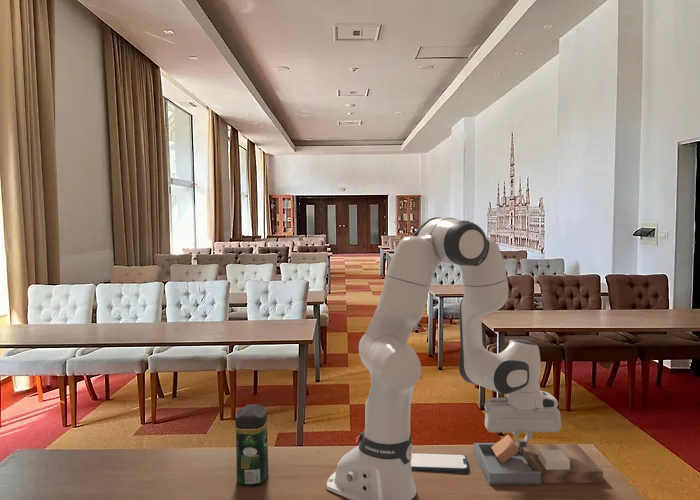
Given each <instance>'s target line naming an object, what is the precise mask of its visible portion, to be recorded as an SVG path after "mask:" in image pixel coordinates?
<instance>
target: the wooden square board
mask: <svg viewBox="0 0 700 500" xmlns="http://www.w3.org/2000/svg"><path fill="white" fill-rule="evenodd" d="M539 450H562V451H563V453H564V454H565V455H566V456H567V457H568V458H569V460H570V470H546V469H545V467H544V466H543V464H542V463H541V462H540V460H539V459H538V455H539ZM520 453H521V454H522V456H523V457H524V459H525V460H526V462H527V463H528V464H529V466H530V467H531V469H532V470H533V471H540V472H541V484H548V483H549V484H556V483H557V484H565V483H566V484H603V483H604V470H602V469H601V467H600V466H599V465H598V464H597V463H595V461H594V460H593V459H592V458H591V457H590V456H589V455H588V454H587V453H586V452H585V450H583V449H582V448H581V447H580V446H579V444H577V443H576V444H569V443H568V444H567V443H566V444H563V443H562V444H547V443H545V444H544V443H543V444H537V443H536V444H531V443H530V444H529V443H528V447H521V449H520Z"/></svg>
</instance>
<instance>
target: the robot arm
mask: <svg viewBox="0 0 700 500" xmlns="http://www.w3.org/2000/svg"><path fill="white" fill-rule="evenodd" d="M389 261H390V262H389V265H388V268H387V271H386V275H385V278H384V282H383V286H382V289H381V293H380V297H379V301H378V304H377V307H376V309H375V312H374V313H373V317H372V319H371V321H370V322H369V325H368V326H367V329H366V331H365V333H364V334H363V335H362V336H361V338H360V340H359V343H358V355H359V358H360V361H361V363H362V365H363V366H364V367H365V368H366V369H367V371H368V372H369V375H370V388H369V392H368V396H367V399H366V400H365V404H364V406H365V407H364V410H365V411H364V412H365V413H364V417H365V419H364V420H365V421H364V422H365V424H364V425H365V426H364V429H363V431H362V432H359V434H358V436H357V437H356V438H355V440H356V441H355V444H357V443H358V444H359V445H357V446H356V447H354V448H352V449H350V450H349V451H348V452H346V453H345V454H344V455H342V457H341V458H340V459H339V461H338V463H337V466H336V470H335V471H334V472H333V473H331V475H330V476H329V477H328V479H327V481H326V490H327V491H330V492H332V493H335V494H336V495H339V496H341V497H343V498H346V499H348V500H413V499H414V498H415V497H416V495H417V487H416V484H415V480H414V475H413V470H412V466H411V458H412V453H413V435H412V434H411V406H412V405H411V404H412V399H413V395H414V394H413V393H414V390H415V385H416V384H417V383H418V381H419V380H420V377H421V375H422V363H421V360H420V358H419V356H418V354H417V352H416V351H415V349H414V348H413V347H412V346H410V344H408V341H409V338H410V335H411V334H412V332H413V330H414V328H415V326H416V325H417V324H418V323H419V322H420V321H421V320H422V318H423V315H424V311H425V309H426V308H425V307H426V304H427V301H428V296H429V293H430V290H431V285H432V280H433V277H434V272H435V270H436V269H437V267H438V266H439V265H440V264H441V262H443V263H447V264H451V265H452V264H453V265H457V266H458V265H459V267H460V271H461V277H462V284H463V297H462V298H461V301H460V303H459V311H458V312H459V338H460V339H459V341H460V342H459V343H460V350H459V351H460V352H459V357H458V358H459V359H458V371H459V374H460V376H461V378H462V379H463V381H465V382H466V383H469V384H472V385H476V386H479V387H481V388H482V387H483V388H485V389H487V390H489V391H490V390H491V391H492V392H496V393H498V394H503V395H505V397H489V399H487V400H486V401H485V402H484V411H485V415H484V426H485V429H486V430H487V432H489V433H511V434H512V435H513V437H514V438H515V443H516V446H517V447H528V444H529V442H530V440H531V439H532V437H533V433H558V432H560V430H561V428H562V418H561V417H562V416H561V412H560V409H558V406H559V402H558V400H557V399H556V398H555V396H554V395H552V394H551V393H549V392H547V391H544V390H541V385H540V376H541V354H540V349H539V346H538V345H537V343H536V342H533V341H530V340H526V339H522V338H511V339H510V340H509V342H508V345H507V346H506V348H504V350H502V351H501V352H498V353H495V352H493V351H492V352H491V351H490V350H488V349H486V347H485V346H484V344H483V324H482V323H483V322H482V321H483V318H484V316H487V315H490V314H493V313H494V312H497V311H498V310H501V308H502V307H504V305H505V304H506V303H507V300H508V298H509V283H508V276H507V271H506V268H505V262H504V259H503V256H502V252H501V249H500V247H499V244H498V243H497V241H495V240H494V239H492V238H489V237H487V235H486V233H485V232H484V230H483V229H482V228H481V227H480V226H479V225H478V224H476V223H474V222H472V221H469V220H461V219H459V218H458V219H457V218H455V217H454V218H453V217H439V216H438V217H432V218H428V219H426V220H425V221H423V222H422V223H421V224H420V225H419V226H418V228H417V230H416V232H414V233H413V235H409V236H406V237H403V238H402V239H401V240H399V242H398V243H397V246H396V247H395V250H394V252H393V254H392V257H391V260H389ZM520 433H525V436H524V438H519V436H520Z"/></svg>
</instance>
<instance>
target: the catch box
mask: <svg viewBox="0 0 700 500" xmlns="http://www.w3.org/2000/svg"><path fill="white" fill-rule="evenodd" d="M496 443H497V442H473V454H474V456H475V458H476V460H477V462H478V464H479V467H480V469H481V470H482V472H483V474H484V477H485V479H486V482H487V483H488V485H489V486H490V485H491V486H497V485H498V486H519V485H520V486H526V485H527V486H531V485H532V486H535V485H536V486H541V485H542V483H541V472H540V471H533V470H532V469H531V467H530V466H529V464H528V463H527V462H526V460H525V459H524V457H523V456H522V454H521V447H518V449H519V450H520V451H519V452H517V453H516V454H515V455H513V456H512V457H511V458H509V459H508V460H507V461H505V462H504V463H503V464H502V463H501V462H500V460H499V459H498V458H497V457H496V455H495V453H494V451H493V450H492V448H491V447H492V446H493V445H495V444H496ZM514 443H515V444H516V442H514Z"/></svg>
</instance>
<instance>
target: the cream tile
mask: <svg viewBox="0 0 700 500" xmlns="http://www.w3.org/2000/svg"><path fill="white" fill-rule="evenodd" d="M538 459H539V460H540V462H541V463H542V464H543V466H544V467H545V469H546V470H570V460H569V458H568V457H567V456H566V455H565V454H564V453H563V451H562V450H539V455H538Z"/></svg>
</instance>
